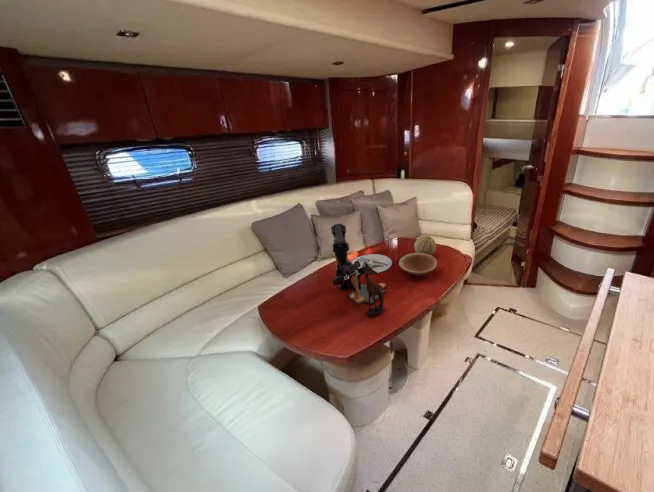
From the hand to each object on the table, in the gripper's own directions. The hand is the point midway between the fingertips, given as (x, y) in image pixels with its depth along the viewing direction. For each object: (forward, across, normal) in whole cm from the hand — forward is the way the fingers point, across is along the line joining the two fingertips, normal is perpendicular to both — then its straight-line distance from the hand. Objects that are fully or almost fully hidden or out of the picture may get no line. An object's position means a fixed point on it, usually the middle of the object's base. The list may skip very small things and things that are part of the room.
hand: (358, 290), depth 153 cm
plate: (-18, +34, +34) cm, 51 cm away
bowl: (+3, +49, +13) cm, 51 cm away
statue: (+14, +4, +2) cm, 15 cm away
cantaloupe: (-7, +68, +23) cm, 72 cm away
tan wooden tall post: (+4, 0, +7) cm, 8 cm away
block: (+1, +21, +14) cm, 26 cm away
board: (+2, +10, +14) cm, 17 cm away
